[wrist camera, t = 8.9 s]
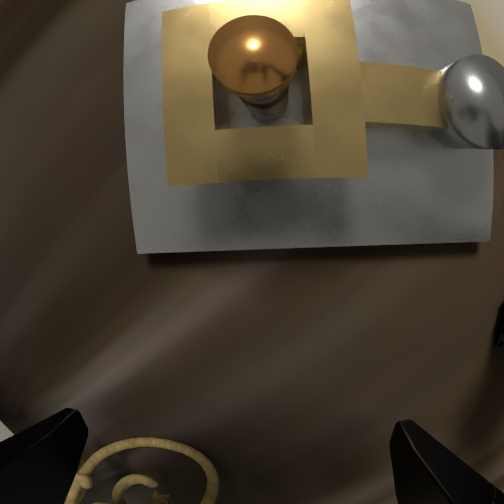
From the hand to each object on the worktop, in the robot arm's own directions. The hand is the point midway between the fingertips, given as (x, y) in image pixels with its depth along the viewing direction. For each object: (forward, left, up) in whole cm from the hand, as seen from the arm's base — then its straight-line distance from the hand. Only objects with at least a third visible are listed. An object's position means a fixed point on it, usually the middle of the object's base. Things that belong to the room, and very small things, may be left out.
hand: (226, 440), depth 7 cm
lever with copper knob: (-1, -10, -12) cm, 15 cm away
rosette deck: (-4, -10, -13) cm, 17 cm away
